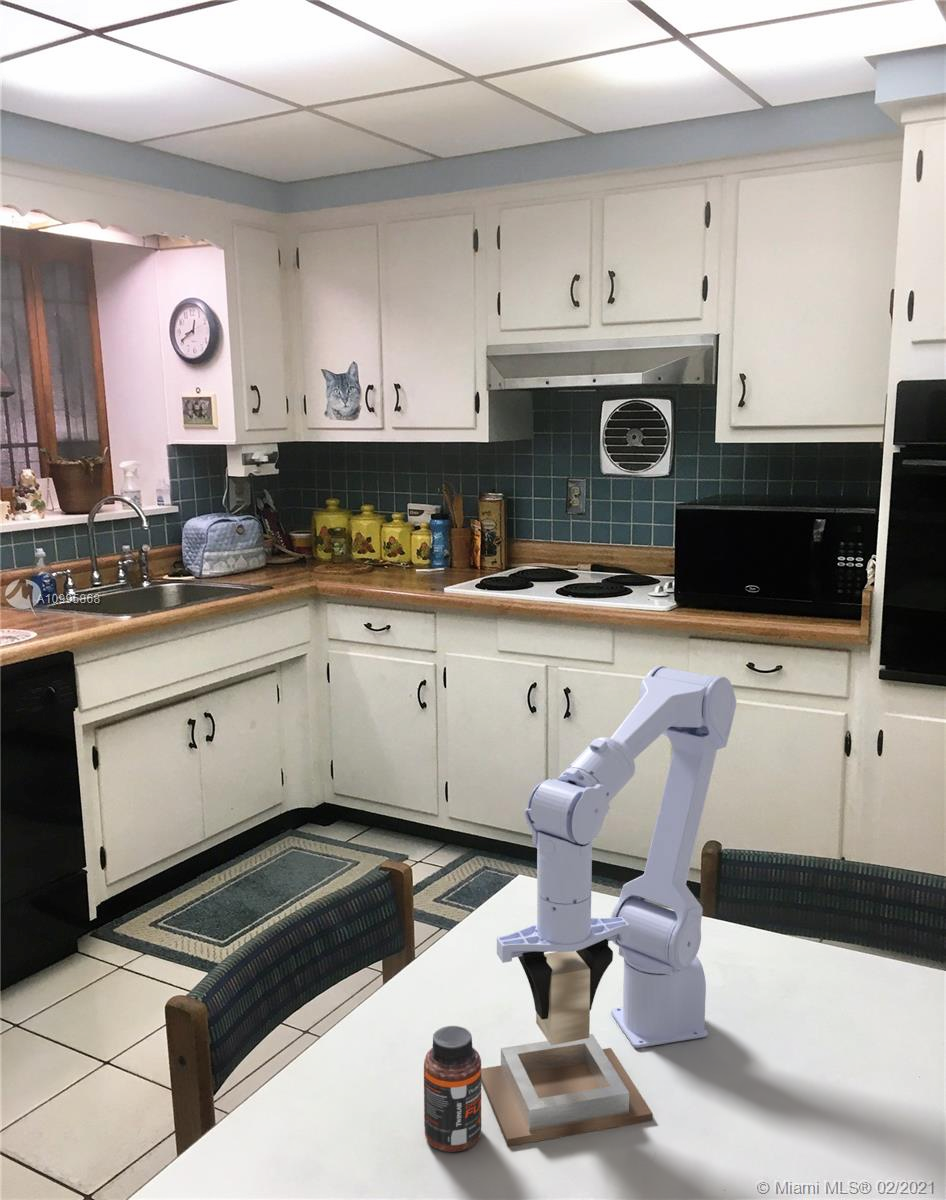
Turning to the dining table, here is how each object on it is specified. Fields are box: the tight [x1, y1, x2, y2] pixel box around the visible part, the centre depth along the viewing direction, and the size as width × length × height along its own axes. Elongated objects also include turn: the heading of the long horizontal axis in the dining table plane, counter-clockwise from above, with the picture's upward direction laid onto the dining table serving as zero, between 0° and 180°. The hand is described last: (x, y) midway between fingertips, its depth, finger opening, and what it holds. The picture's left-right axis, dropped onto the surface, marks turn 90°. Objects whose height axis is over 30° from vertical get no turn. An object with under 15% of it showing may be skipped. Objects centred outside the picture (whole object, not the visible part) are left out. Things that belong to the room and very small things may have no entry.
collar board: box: [481, 1033, 654, 1147], centre depth 113 cm, size 16×12×3 cm
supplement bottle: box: [423, 1025, 482, 1153], centre depth 106 cm, size 6×6×11 cm
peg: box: [535, 951, 591, 1046], centre depth 111 cm, size 4×4×8 cm
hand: (563, 1010), depth 112 cm, fingers closed on peg, 4 cm apart
